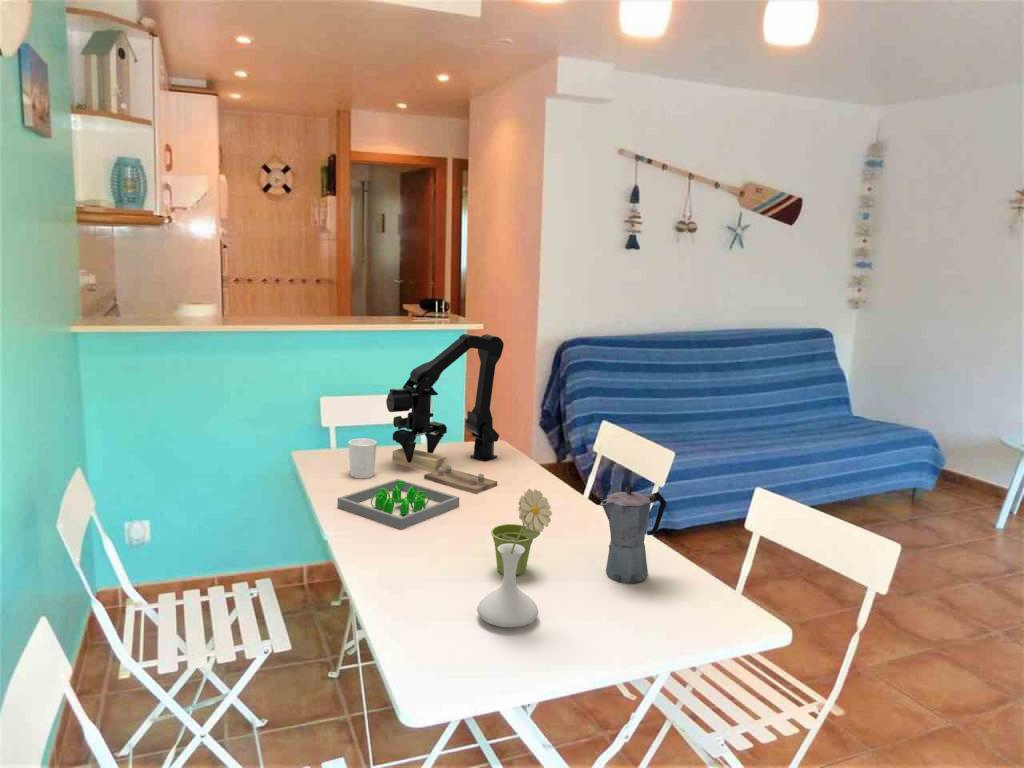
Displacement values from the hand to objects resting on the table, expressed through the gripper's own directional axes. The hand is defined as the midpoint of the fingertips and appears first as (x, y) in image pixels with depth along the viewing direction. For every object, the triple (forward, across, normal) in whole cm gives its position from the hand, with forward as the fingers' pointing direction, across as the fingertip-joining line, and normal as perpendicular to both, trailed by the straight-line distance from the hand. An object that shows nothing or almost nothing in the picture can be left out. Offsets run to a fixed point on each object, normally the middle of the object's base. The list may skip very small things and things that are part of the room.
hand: (419, 459), depth 233 cm
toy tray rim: (+2, +31, +21) cm, 38 cm away
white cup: (+2, +19, -5) cm, 20 cm away
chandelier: (+2, +31, +21) cm, 38 cm away
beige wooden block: (+2, 0, 0) cm, 2 cm away
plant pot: (+2, +43, +65) cm, 78 cm away
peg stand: (+2, +4, +20) cm, 20 cm away
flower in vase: (+2, +60, +77) cm, 98 cm away
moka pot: (+2, +28, +85) cm, 89 cm away
